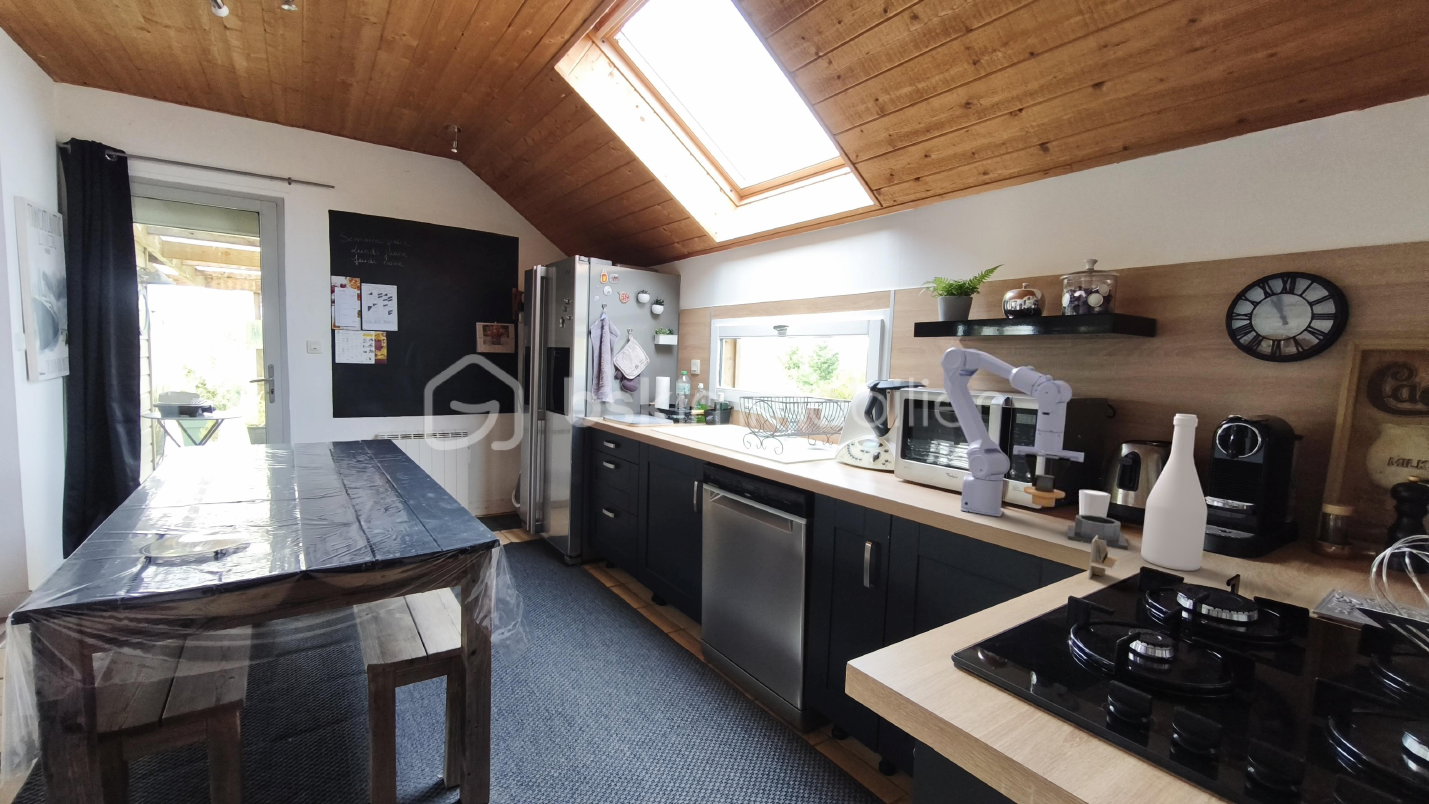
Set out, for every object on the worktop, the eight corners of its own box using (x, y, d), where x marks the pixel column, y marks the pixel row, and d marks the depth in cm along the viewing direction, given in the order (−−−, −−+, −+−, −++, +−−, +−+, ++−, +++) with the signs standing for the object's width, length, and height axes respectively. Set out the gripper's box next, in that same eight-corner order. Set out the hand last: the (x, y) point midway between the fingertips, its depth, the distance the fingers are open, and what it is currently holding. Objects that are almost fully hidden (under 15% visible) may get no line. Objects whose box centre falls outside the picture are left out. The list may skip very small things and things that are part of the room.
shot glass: (1098, 516, 153) (1101, 490, 153) (1114, 523, 147) (1116, 496, 146) (1071, 514, 154) (1073, 488, 153) (1085, 521, 147) (1087, 494, 147)
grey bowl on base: (1067, 539, 130) (1069, 520, 130) (1067, 528, 140) (1069, 510, 139) (1127, 549, 125) (1129, 529, 124) (1123, 537, 134) (1125, 519, 134)
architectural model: (1114, 578, 108) (1118, 539, 107) (1109, 588, 103) (1113, 547, 102) (1093, 573, 110) (1096, 534, 110) (1086, 583, 105) (1090, 542, 104)
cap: (1021, 504, 139) (1024, 476, 138) (1023, 497, 146) (1026, 471, 145) (1063, 510, 134) (1066, 481, 134) (1063, 503, 142) (1066, 476, 141)
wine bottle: (1173, 572, 111) (1190, 416, 109) (1128, 555, 120) (1144, 411, 118) (1213, 571, 113) (1231, 417, 111) (1166, 555, 122) (1182, 412, 120)
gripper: (1014, 429, 139) (1009, 485, 140) (1086, 436, 132) (1080, 495, 133) (1016, 426, 145) (1011, 480, 146) (1085, 433, 138) (1079, 490, 139)
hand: (1044, 487), depth 140 cm, fingers closed on cap, 4 cm apart
